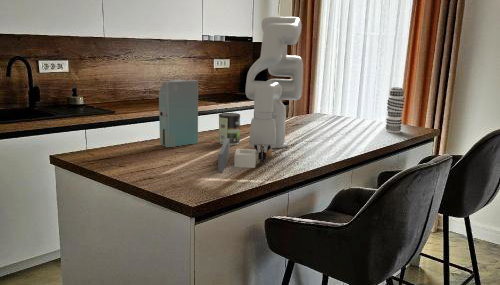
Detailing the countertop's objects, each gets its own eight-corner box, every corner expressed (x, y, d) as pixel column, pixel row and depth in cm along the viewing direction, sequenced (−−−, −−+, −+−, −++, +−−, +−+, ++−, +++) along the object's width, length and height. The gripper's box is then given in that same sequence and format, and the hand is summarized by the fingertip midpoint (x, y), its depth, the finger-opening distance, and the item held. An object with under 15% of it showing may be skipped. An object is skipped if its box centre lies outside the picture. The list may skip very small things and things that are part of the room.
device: (189, 140, 225) (188, 79, 219) (198, 143, 220) (198, 80, 213) (159, 145, 214) (158, 80, 208) (168, 148, 209) (167, 82, 202)
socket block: (236, 160, 187) (236, 148, 186) (256, 161, 187) (256, 149, 186) (234, 167, 177) (234, 154, 176) (255, 167, 177) (255, 155, 176)
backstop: (225, 156, 196) (226, 138, 195) (269, 158, 196) (269, 139, 194) (218, 175, 169) (218, 154, 167) (268, 177, 168) (269, 155, 167)
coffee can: (241, 141, 227) (242, 113, 224) (237, 145, 217) (237, 116, 214) (221, 140, 229) (221, 112, 226) (215, 144, 219) (216, 115, 216)
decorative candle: (403, 133, 259) (408, 88, 254) (387, 132, 259) (391, 88, 254) (398, 130, 268) (403, 87, 263) (382, 129, 268) (386, 86, 263)
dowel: (263, 157, 196) (264, 134, 194) (271, 157, 196) (272, 135, 194) (263, 159, 193) (264, 136, 191) (271, 159, 193) (271, 136, 191)
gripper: (282, 114, 181) (280, 159, 185) (244, 113, 182) (243, 158, 186) (283, 117, 174) (281, 164, 178) (243, 116, 174) (242, 163, 178)
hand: (261, 161), depth 182 cm, fingers closed
